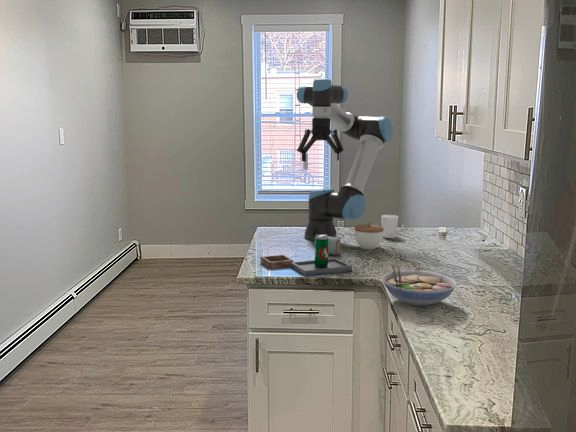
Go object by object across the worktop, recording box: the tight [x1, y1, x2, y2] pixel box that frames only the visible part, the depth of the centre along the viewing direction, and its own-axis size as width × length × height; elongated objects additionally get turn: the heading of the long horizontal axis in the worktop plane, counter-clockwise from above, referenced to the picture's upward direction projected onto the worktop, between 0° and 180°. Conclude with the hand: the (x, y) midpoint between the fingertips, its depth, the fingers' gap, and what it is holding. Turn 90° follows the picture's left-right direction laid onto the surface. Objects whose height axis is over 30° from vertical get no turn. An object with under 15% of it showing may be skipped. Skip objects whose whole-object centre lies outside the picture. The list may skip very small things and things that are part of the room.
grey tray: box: [290, 257, 353, 277], centre depth 220 cm, size 19×13×2 cm
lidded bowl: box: [354, 222, 384, 250], centre depth 256 cm, size 13×13×11 cm
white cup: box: [380, 214, 399, 239], centre depth 279 cm, size 8×8×10 cm
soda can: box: [314, 234, 329, 268], centre depth 219 cm, size 5×5×12 cm
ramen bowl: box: [381, 265, 458, 307], centre depth 182 cm, size 25×23×8 cm
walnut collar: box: [260, 254, 294, 270], centre depth 225 cm, size 10×10×2 cm
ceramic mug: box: [328, 236, 341, 256], centre depth 245 cm, size 11×8×8 cm
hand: (320, 169), depth 245 cm, fingers open, 13 cm apart
